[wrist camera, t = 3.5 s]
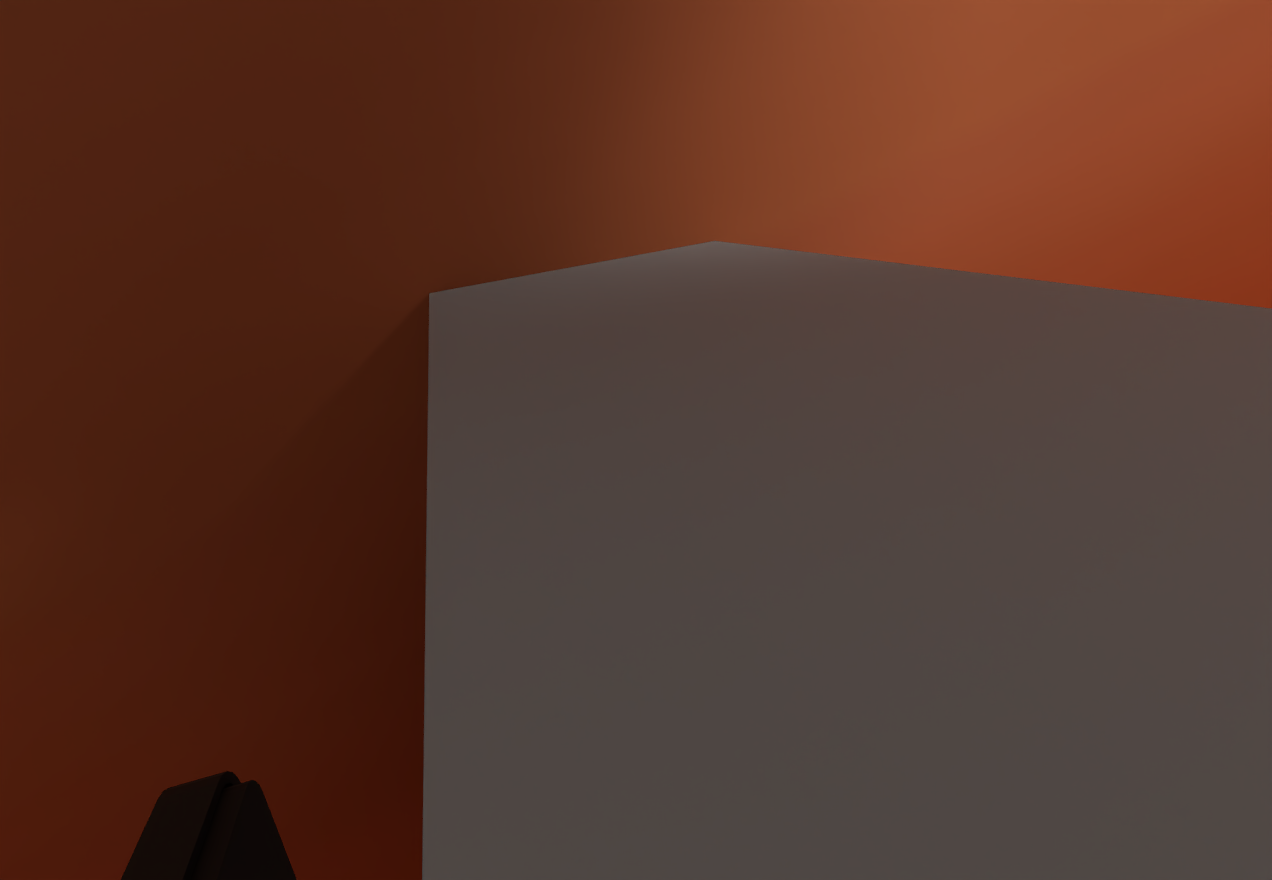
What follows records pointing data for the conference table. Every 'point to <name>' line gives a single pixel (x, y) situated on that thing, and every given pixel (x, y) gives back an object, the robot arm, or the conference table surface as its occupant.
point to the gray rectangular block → (845, 576)
